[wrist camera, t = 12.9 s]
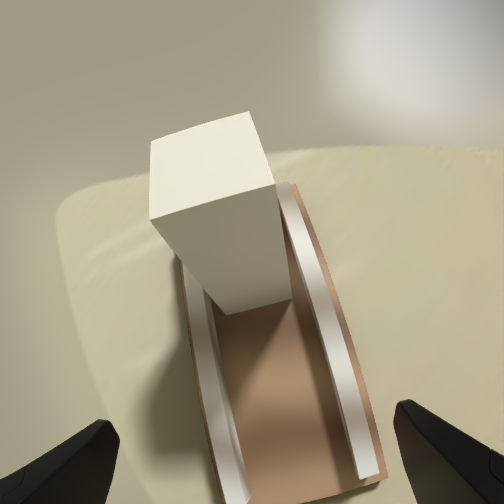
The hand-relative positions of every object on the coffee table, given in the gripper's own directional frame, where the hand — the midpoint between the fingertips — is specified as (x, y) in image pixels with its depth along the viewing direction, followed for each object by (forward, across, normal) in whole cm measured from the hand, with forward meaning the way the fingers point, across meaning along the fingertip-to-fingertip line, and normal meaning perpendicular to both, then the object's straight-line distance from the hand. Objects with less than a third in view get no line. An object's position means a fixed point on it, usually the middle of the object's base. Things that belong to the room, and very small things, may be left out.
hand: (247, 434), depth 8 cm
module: (+12, 0, -1) cm, 12 cm away
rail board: (+10, 0, +2) cm, 10 cm away
